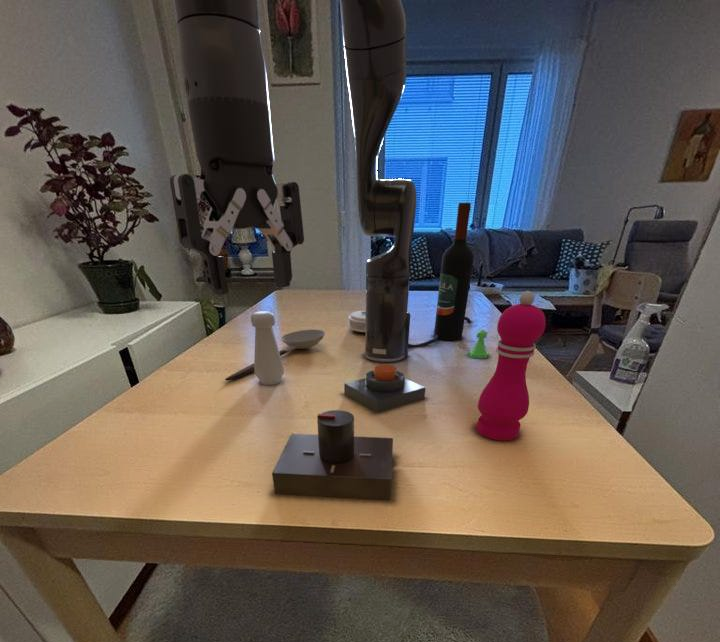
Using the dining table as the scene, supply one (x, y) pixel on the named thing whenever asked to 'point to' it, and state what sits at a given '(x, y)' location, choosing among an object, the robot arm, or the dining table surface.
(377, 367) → the button
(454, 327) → the wine bottle
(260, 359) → the salt shaker
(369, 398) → the button block
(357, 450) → the dial panel
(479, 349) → the game piece
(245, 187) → the robot arm
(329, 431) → the dial
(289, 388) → the dining table surface
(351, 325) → the lid
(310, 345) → the spoon
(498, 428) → the pepper mill
